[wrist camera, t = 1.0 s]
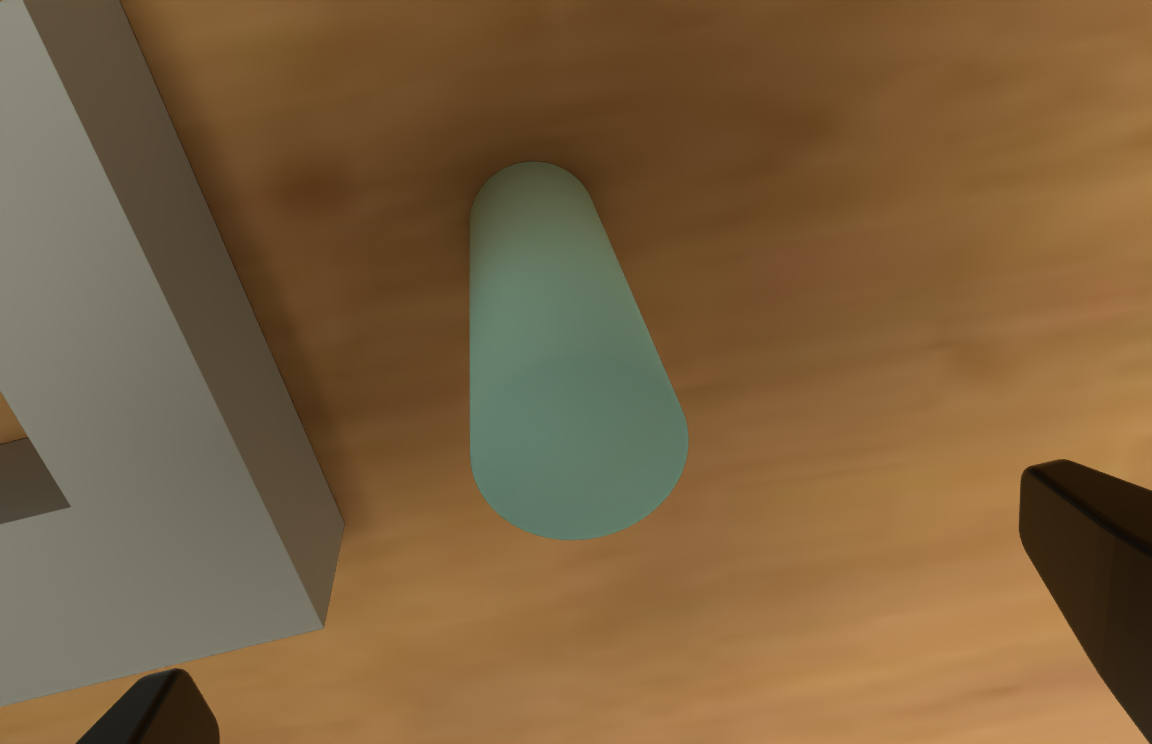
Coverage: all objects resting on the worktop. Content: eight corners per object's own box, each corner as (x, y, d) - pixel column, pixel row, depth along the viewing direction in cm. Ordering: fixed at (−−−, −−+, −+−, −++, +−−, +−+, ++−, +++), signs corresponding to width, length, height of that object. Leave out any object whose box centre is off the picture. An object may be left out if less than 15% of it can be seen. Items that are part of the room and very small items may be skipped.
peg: (487, 296, 22) (501, 560, 13) (454, 178, 20) (443, 385, 11) (607, 267, 22) (703, 511, 13) (581, 147, 20) (669, 330, 11)
